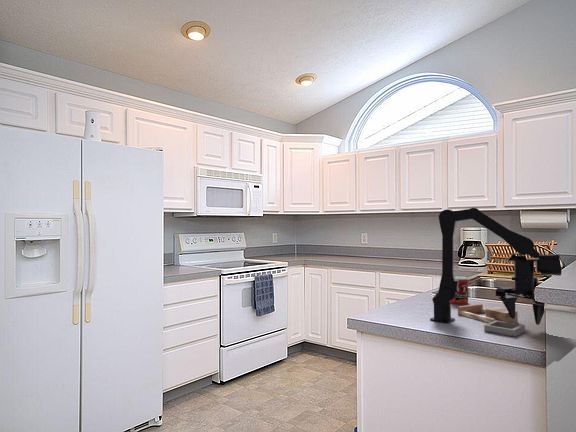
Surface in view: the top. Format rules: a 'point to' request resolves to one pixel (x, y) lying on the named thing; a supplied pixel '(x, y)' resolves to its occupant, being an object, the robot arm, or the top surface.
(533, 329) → the top surface
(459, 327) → the top surface
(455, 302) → the canned food
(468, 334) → the top surface
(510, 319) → the light brown wooden block
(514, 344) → the top surface
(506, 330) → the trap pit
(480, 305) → the wooden lane
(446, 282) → the robot arm
